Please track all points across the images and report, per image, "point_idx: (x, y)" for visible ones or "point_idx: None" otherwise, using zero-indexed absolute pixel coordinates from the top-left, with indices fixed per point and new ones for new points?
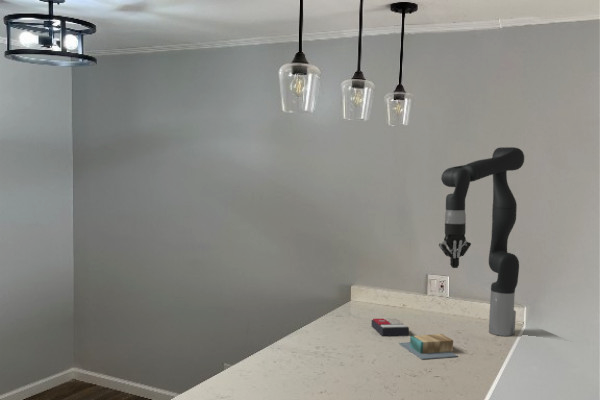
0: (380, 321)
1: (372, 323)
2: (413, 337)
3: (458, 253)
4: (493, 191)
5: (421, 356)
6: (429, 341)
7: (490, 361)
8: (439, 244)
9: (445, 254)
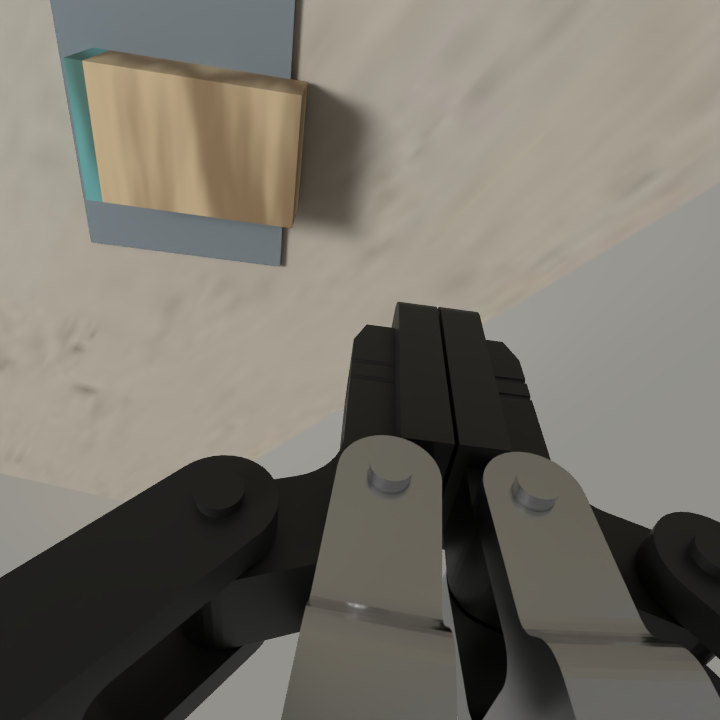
0: None
1: None
2: (73, 97)
3: (495, 687)
4: None
5: (98, 218)
6: (145, 200)
7: None
8: None
9: (144, 512)
